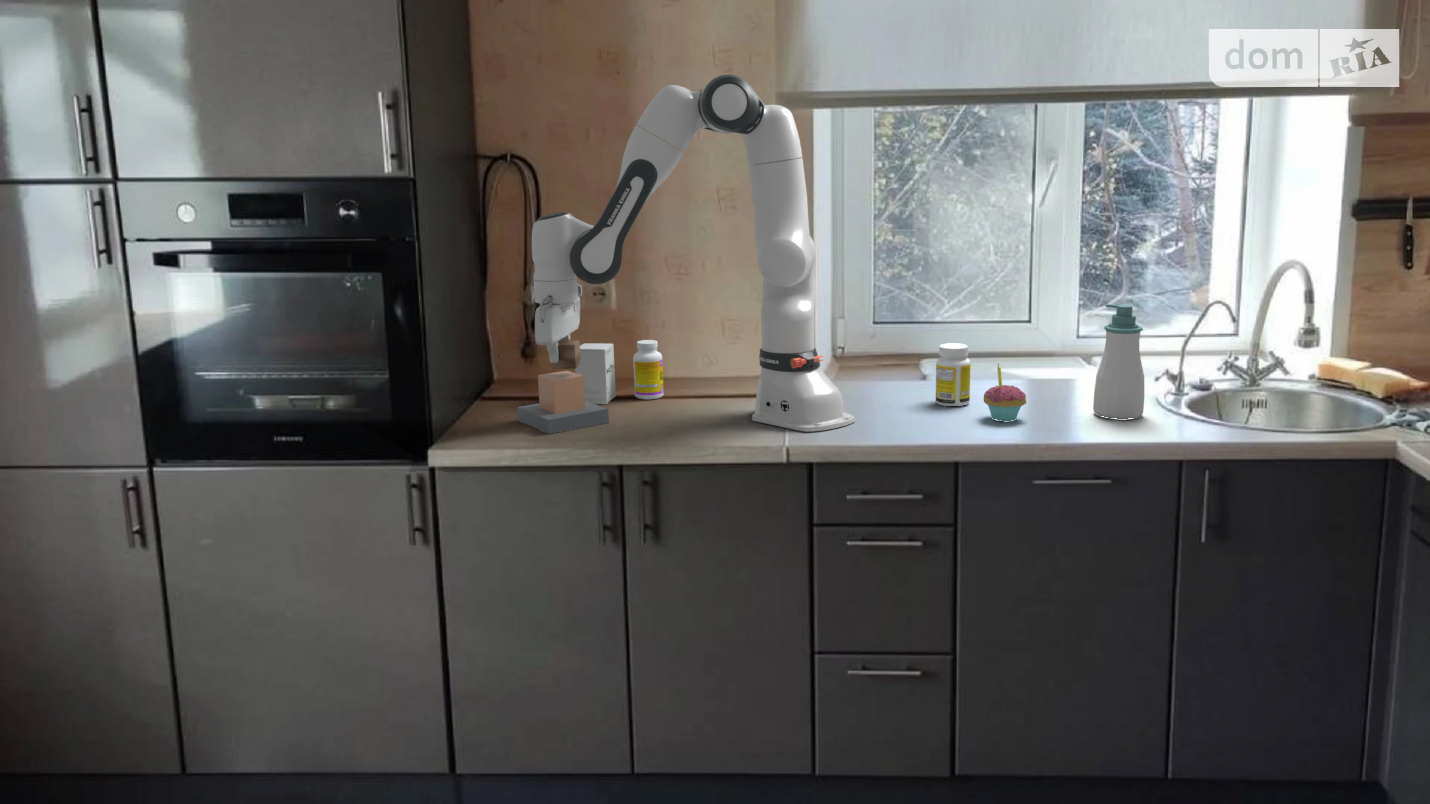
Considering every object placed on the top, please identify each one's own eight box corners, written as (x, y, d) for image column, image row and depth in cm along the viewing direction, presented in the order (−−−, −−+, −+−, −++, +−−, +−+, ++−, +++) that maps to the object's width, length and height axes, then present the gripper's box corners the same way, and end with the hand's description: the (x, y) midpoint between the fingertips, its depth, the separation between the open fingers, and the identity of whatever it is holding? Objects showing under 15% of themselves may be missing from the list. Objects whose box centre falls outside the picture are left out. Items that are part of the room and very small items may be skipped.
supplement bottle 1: (665, 399, 258) (663, 343, 255) (636, 401, 257) (633, 345, 254) (662, 392, 265) (660, 338, 262) (633, 394, 264) (631, 339, 261)
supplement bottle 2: (964, 399, 253) (966, 342, 250) (973, 406, 246) (975, 348, 243) (931, 400, 252) (932, 343, 249) (939, 408, 245) (941, 349, 242)
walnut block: (580, 363, 240) (579, 340, 239) (575, 368, 235) (574, 344, 234) (557, 363, 241) (555, 340, 239) (551, 368, 236) (550, 345, 235)
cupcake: (1001, 426, 230) (1003, 368, 227) (973, 417, 237) (975, 361, 234) (1034, 420, 233) (1036, 363, 230) (1005, 412, 241) (1008, 356, 238)
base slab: (608, 422, 239) (608, 408, 239) (549, 434, 231) (548, 419, 231) (576, 410, 250) (575, 396, 250) (518, 420, 243) (517, 407, 242)
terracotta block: (585, 408, 239) (583, 375, 238) (555, 413, 236) (553, 380, 234) (569, 402, 245) (567, 370, 243) (539, 407, 241) (537, 375, 239)
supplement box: (607, 404, 255) (604, 349, 252) (575, 404, 256) (572, 348, 253) (616, 397, 262) (614, 342, 259) (585, 396, 263) (583, 342, 260)
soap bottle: (1106, 407, 243) (1113, 300, 237) (1151, 414, 236) (1159, 305, 231) (1084, 416, 236) (1090, 306, 231) (1129, 424, 229) (1136, 311, 224)
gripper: (555, 300, 224) (559, 369, 227) (584, 285, 244) (587, 349, 247) (525, 300, 225) (529, 369, 228) (555, 285, 245) (558, 349, 248)
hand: (559, 358), depth 238 cm, fingers closed on walnut block, 5 cm apart
